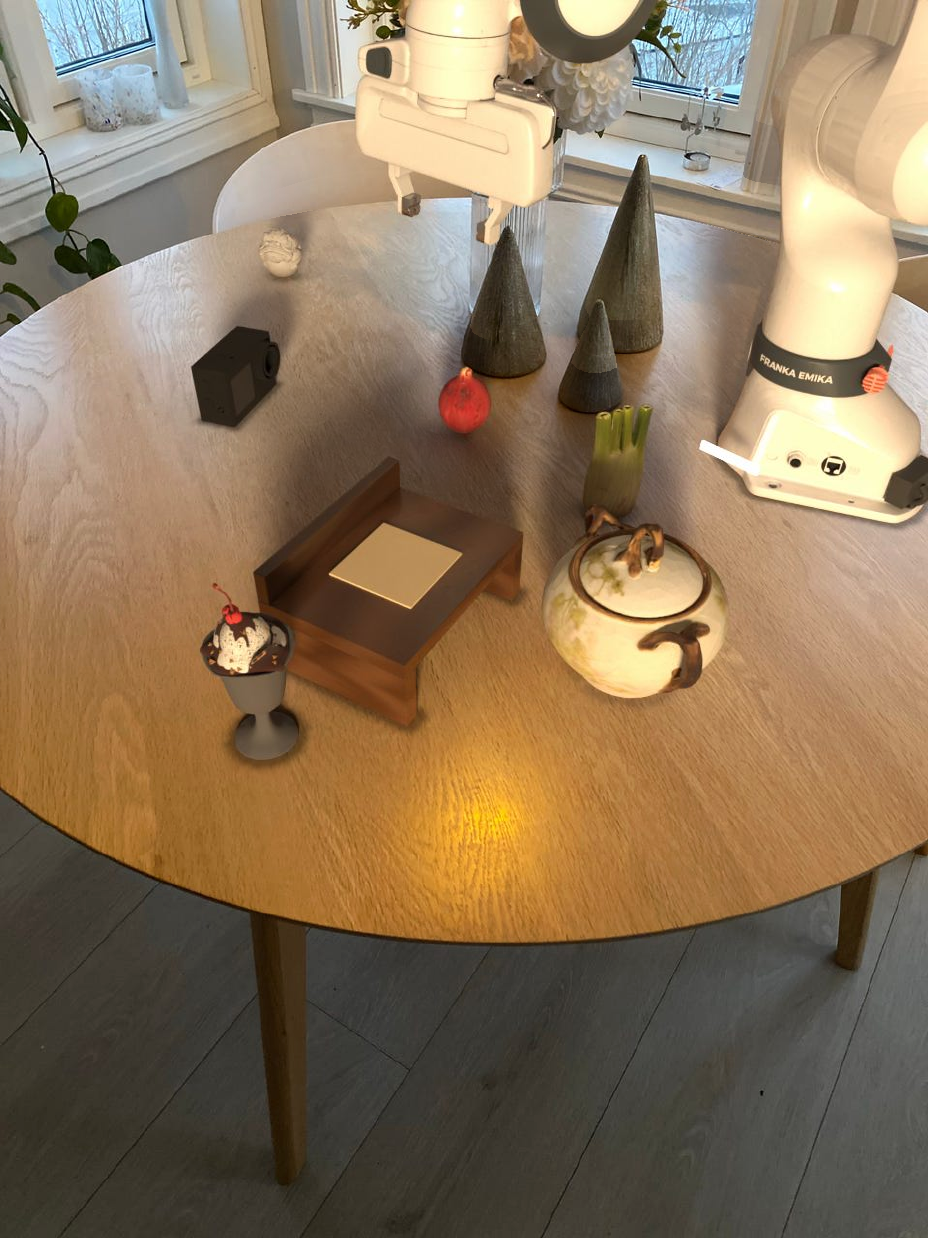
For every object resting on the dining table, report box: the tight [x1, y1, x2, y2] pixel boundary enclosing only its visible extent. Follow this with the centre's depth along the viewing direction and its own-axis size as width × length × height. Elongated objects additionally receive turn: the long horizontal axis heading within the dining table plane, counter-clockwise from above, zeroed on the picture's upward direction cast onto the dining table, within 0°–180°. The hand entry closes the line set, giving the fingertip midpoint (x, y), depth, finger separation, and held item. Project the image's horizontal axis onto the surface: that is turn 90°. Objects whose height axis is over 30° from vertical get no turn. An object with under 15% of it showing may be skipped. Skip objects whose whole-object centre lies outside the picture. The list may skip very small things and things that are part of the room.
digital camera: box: [190, 325, 281, 428], centre depth 109 cm, size 10×5×7 cm, turn 161°
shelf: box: [252, 455, 525, 728], centre depth 81 cm, size 14×19×10 cm
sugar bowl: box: [541, 504, 731, 699], centre depth 77 cm, size 20×15×15 cm
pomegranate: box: [437, 366, 492, 435], centre depth 105 cm, size 6×6×8 cm
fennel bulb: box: [581, 404, 654, 520], centre depth 93 cm, size 6×5×12 cm
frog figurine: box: [257, 227, 303, 278], centre depth 135 cm, size 6×7×7 cm
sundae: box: [199, 582, 299, 761], centre depth 70 cm, size 7×7×15 cm
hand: (447, 227), depth 91 cm, fingers open, 8 cm apart
